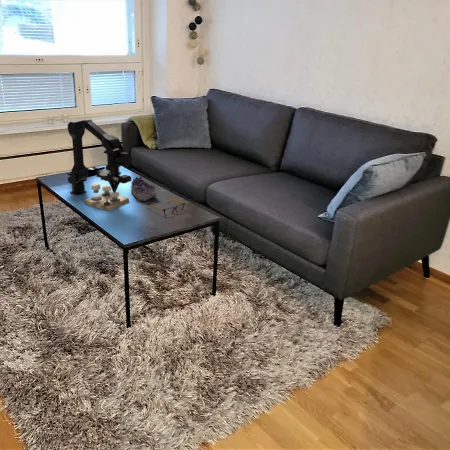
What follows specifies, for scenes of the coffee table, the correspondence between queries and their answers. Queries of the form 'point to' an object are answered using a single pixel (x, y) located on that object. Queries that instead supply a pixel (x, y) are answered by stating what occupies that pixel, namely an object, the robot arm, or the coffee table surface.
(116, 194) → the knob
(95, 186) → the knob
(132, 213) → the coffee table surface
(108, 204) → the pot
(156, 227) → the coffee table surface
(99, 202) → the panel
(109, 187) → the knob
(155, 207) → the eyeglasses
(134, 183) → the geode
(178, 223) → the coffee table surface
